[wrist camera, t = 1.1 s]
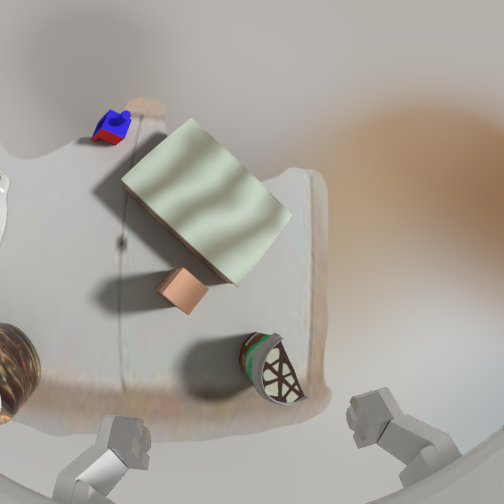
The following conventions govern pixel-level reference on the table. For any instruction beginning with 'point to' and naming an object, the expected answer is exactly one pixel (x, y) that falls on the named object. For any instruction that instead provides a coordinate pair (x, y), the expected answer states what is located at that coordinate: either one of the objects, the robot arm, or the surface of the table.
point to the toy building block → (112, 127)
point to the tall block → (182, 289)
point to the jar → (16, 371)
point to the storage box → (207, 201)
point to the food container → (270, 369)
